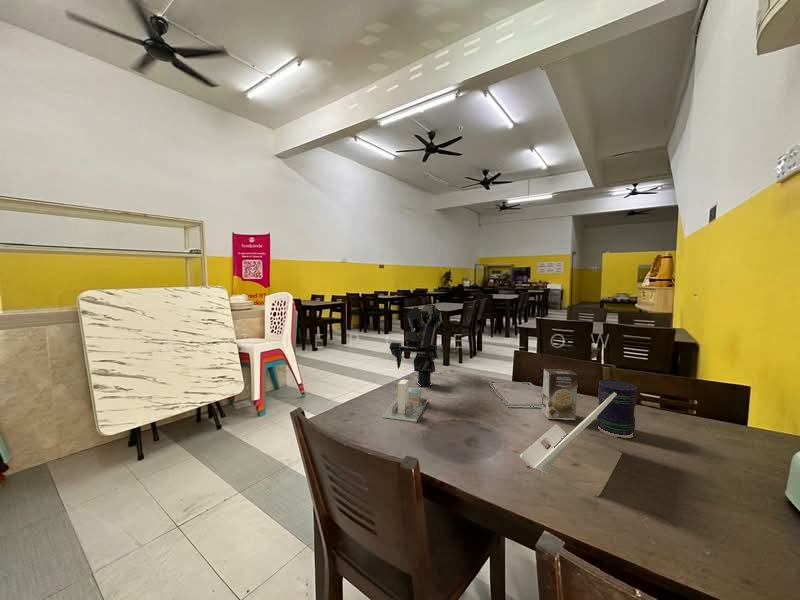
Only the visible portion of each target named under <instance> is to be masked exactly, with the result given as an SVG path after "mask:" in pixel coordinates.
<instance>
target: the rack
mask: <svg viewBox="0 0 800 600" xmlns="http://www.w3.org/2000/svg"><path fill="white" fill-rule="evenodd" d="M428 402H429V399H428V398H423V397H421V400H420V402H419V403H411V402H408V408H407V409H406V413H405V414H400V413H398V396H397V397H396V398H395V399H394V400H393V401H392V403H391V404H390V405H388V407H387V408H386V410H385V411H384V412H383V413H382V414H381V415H382V416H381V417H382V418H384V419H392V420H398V421H405V422H412V423H417V422H418V420H419V419H420V416H421V415H422V413H423V411H424V410H425V407H426V406H427V404H428Z"/></svg>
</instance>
